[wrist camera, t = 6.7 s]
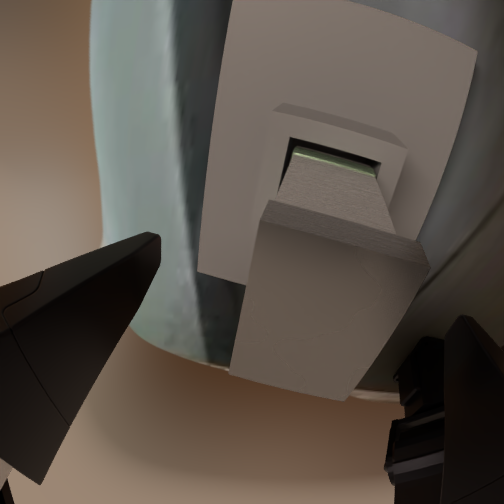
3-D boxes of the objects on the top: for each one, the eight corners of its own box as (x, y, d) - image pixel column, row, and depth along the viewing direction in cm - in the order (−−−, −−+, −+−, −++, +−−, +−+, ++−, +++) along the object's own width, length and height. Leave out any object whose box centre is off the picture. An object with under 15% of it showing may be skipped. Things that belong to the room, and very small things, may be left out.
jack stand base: (467, 51, 13) (511, 50, 8) (374, 305, 24) (378, 358, 19) (243, -11, 14) (212, -36, 10) (203, 260, 25) (176, 305, 21)
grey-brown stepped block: (375, 151, 13) (432, 268, 6) (345, 242, 16) (345, 401, 8) (299, 129, 14) (256, 219, 6) (277, 224, 16) (226, 373, 9)
